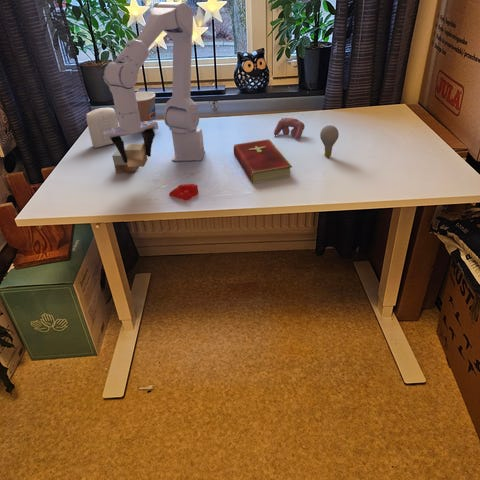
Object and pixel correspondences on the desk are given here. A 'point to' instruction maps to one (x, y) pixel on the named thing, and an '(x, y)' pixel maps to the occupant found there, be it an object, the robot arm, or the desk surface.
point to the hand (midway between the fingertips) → (137, 158)
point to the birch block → (136, 154)
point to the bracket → (185, 191)
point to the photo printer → (101, 125)
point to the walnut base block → (125, 169)
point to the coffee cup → (146, 106)
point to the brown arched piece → (290, 122)
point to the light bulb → (329, 138)
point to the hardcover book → (262, 161)
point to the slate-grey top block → (118, 158)
